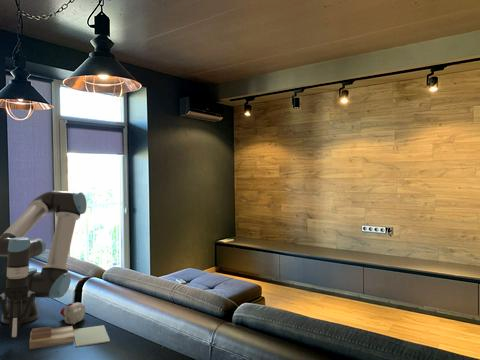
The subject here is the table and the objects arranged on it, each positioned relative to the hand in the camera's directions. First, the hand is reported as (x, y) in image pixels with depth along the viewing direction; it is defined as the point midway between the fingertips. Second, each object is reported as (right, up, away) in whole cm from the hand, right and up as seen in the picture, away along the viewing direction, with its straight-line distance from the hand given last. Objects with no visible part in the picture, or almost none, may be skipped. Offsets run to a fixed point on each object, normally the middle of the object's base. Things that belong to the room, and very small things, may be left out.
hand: (14, 335), depth 144 cm
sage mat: (+26, -5, +12) cm, 29 cm away
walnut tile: (+8, -2, +5) cm, 10 cm away
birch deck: (+12, -5, +6) cm, 14 cm away
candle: (+11, -5, +27) cm, 30 cm away
